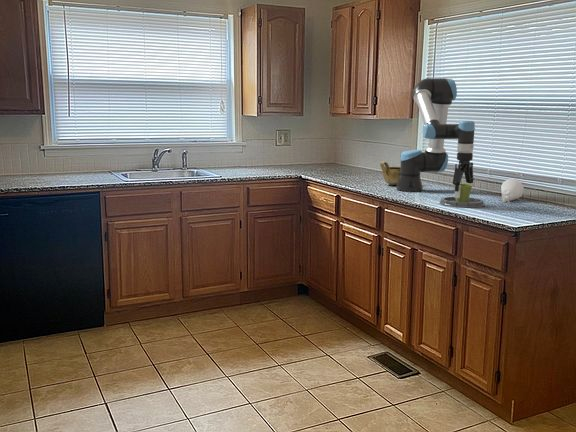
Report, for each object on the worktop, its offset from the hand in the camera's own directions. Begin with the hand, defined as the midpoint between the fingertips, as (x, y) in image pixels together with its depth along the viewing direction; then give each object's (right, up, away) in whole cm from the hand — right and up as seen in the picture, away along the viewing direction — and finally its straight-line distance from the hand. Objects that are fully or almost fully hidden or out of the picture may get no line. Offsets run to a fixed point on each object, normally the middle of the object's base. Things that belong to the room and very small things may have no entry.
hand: (462, 196), depth 298 cm
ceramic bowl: (-21, +9, +71) cm, 74 cm away
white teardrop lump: (+27, -2, +14) cm, 30 cm away
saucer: (0, -4, +1) cm, 4 cm away
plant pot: (0, -3, +1) cm, 3 cm away
